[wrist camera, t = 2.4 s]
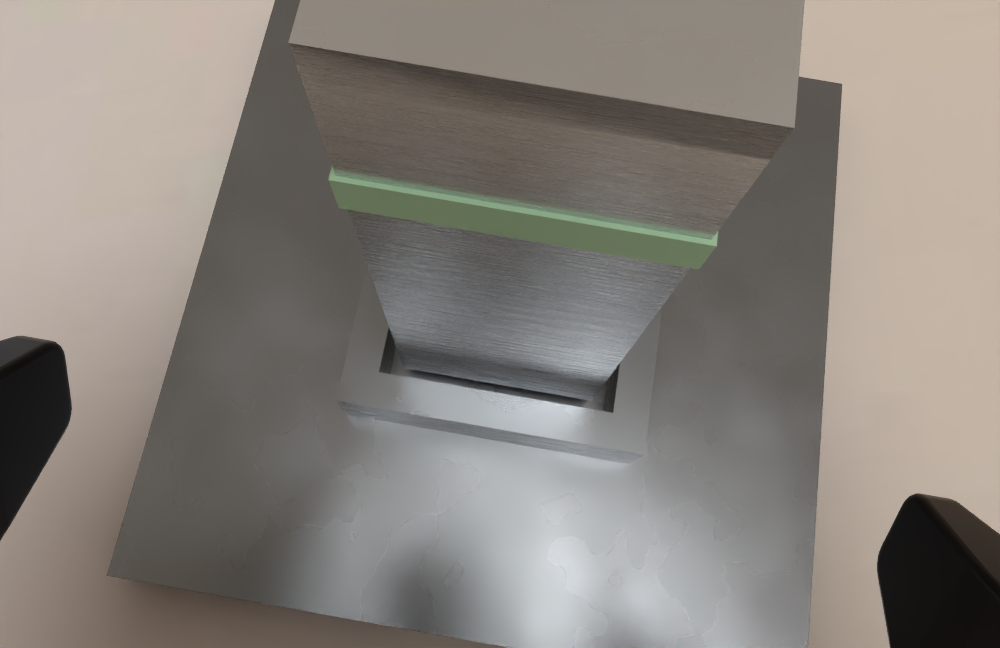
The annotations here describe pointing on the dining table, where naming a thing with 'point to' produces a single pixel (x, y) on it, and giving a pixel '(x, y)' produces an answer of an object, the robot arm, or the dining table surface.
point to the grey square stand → (489, 426)
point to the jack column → (541, 164)
